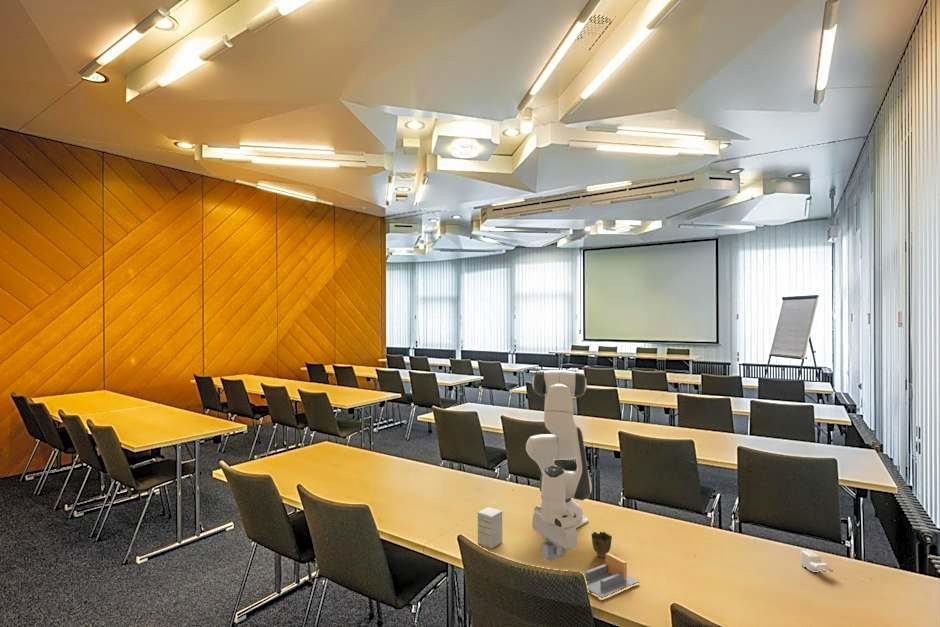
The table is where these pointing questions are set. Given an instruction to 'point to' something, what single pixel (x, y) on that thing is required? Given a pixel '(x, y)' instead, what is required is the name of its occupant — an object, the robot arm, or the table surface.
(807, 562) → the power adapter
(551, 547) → the link block
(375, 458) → the table surface
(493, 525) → the supplement box
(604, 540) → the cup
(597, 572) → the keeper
